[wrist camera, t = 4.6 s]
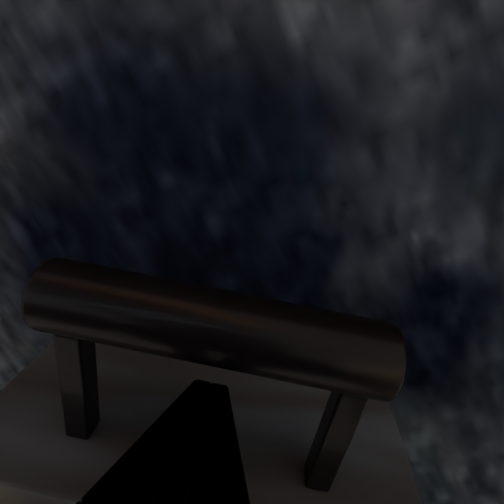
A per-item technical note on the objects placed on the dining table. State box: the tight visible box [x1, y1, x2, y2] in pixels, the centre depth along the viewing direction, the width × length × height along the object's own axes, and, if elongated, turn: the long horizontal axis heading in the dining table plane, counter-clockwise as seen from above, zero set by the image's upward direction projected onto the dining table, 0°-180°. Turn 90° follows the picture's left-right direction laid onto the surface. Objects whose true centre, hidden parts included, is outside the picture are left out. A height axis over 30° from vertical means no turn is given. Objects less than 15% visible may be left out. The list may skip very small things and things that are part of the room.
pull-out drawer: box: [0, 257, 423, 504], centre depth 11 cm, size 18×11×6 cm, turn 171°
